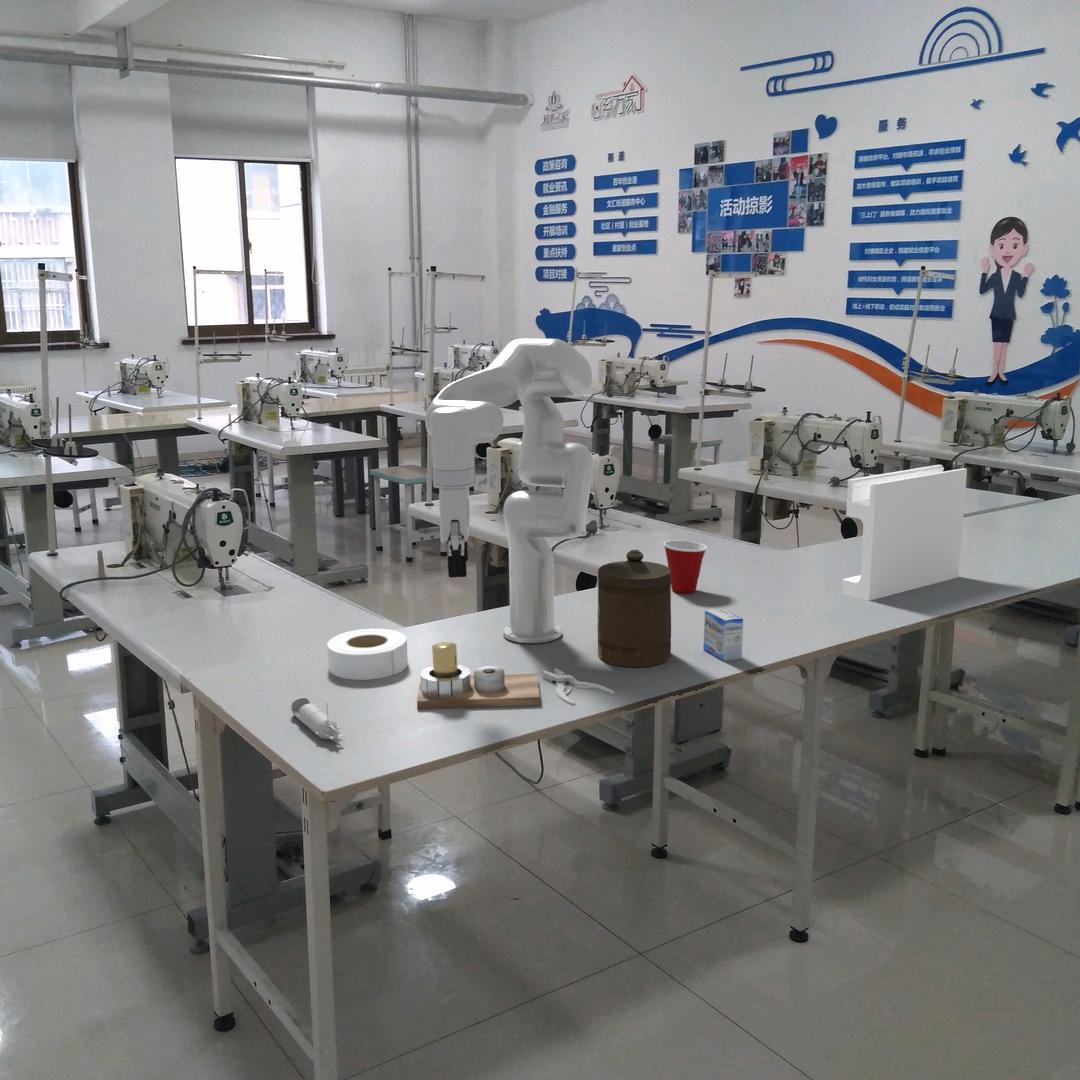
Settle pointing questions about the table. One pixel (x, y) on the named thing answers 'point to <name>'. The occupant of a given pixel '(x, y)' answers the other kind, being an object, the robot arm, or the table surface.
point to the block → (907, 529)
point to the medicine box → (723, 634)
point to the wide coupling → (445, 683)
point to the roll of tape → (367, 654)
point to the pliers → (563, 679)
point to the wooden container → (634, 612)
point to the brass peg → (444, 660)
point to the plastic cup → (684, 564)
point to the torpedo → (315, 719)
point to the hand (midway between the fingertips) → (458, 568)
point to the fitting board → (489, 691)
